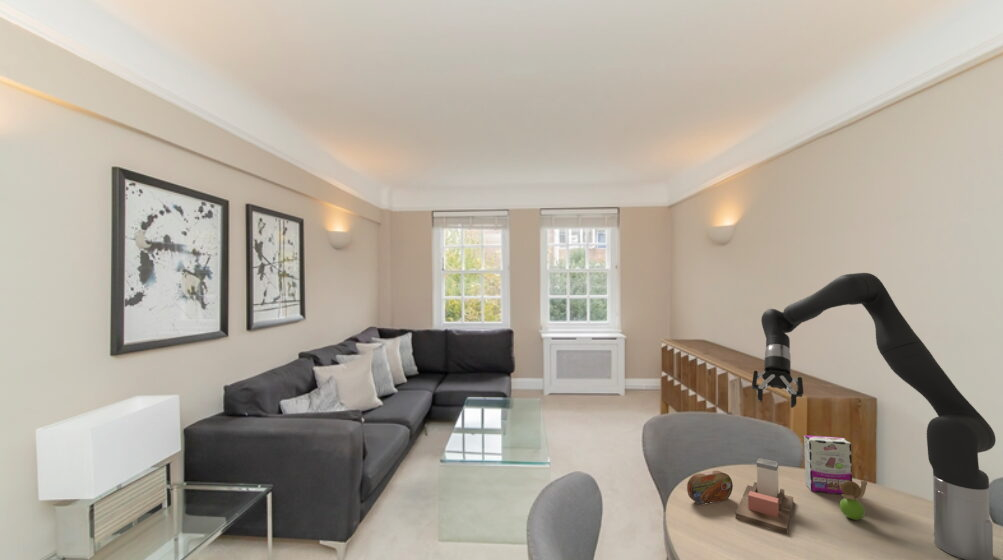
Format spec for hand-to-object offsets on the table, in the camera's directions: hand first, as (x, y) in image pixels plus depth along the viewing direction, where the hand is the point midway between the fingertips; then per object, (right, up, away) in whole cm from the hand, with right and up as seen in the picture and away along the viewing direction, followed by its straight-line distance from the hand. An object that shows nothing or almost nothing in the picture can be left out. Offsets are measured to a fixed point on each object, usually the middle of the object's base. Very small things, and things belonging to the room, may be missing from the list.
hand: (776, 403), depth 136 cm
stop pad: (-16, -25, -18) cm, 35 cm away
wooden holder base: (-13, -27, -15) cm, 33 cm away
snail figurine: (+9, -26, -20) cm, 34 cm away
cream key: (-9, -25, -10) cm, 28 cm away
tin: (-27, -27, -9) cm, 39 cm away
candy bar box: (+13, -26, -4) cm, 30 cm away
